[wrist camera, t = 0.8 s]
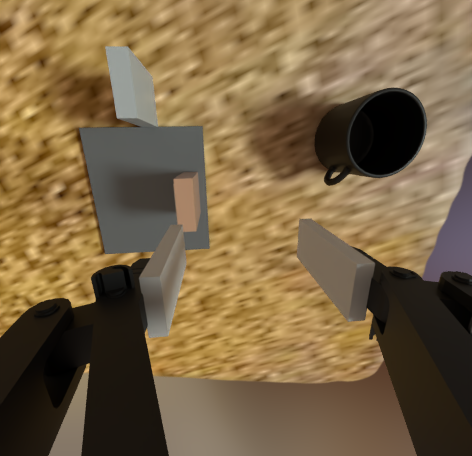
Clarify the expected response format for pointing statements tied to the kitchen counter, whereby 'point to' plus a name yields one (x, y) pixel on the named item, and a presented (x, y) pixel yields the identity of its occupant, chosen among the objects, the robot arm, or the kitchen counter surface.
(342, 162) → the mug
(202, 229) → the mat
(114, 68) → the grey tile
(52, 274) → the kitchen counter surface
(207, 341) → the kitchen counter surface
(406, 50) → the kitchen counter surface
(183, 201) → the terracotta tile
